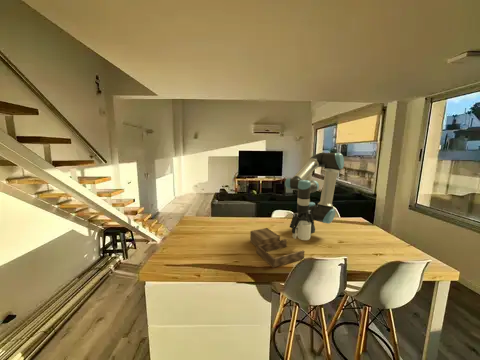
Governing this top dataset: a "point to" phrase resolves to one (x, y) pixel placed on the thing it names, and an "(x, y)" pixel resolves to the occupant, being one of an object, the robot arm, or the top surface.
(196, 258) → the top surface
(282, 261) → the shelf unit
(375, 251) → the top surface
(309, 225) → the mug
